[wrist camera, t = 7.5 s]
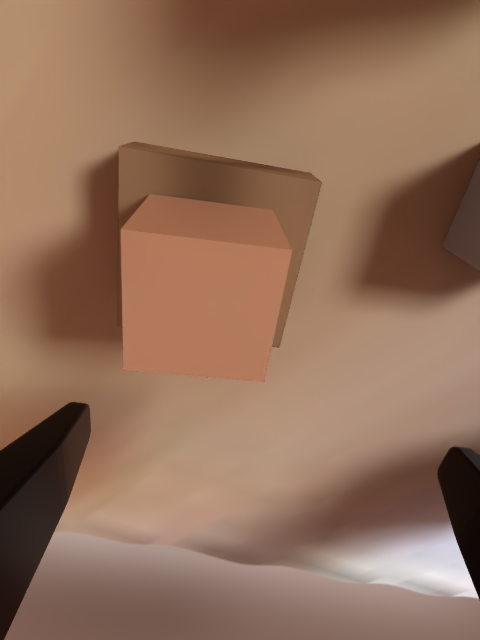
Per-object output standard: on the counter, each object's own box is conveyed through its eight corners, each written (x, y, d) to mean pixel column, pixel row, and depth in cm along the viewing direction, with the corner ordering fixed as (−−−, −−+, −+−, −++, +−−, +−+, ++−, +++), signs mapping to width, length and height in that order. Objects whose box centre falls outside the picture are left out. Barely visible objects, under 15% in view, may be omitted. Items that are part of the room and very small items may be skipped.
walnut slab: (308, 171, 18) (322, 182, 15) (273, 318, 21) (279, 347, 19) (136, 140, 17) (118, 146, 14) (132, 298, 21) (117, 326, 18)
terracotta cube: (272, 209, 15) (292, 250, 11) (254, 314, 18) (264, 381, 14) (149, 193, 15) (120, 229, 11) (148, 304, 17) (123, 370, 13)
